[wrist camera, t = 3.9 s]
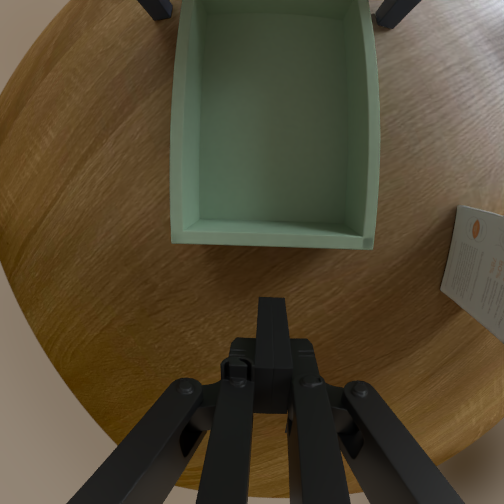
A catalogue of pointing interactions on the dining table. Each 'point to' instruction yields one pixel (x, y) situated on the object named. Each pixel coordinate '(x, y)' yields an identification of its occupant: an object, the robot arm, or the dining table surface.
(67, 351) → the dining table surface
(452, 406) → the dining table surface
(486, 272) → the small box
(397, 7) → the drawer cabinet
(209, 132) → the storage tub
